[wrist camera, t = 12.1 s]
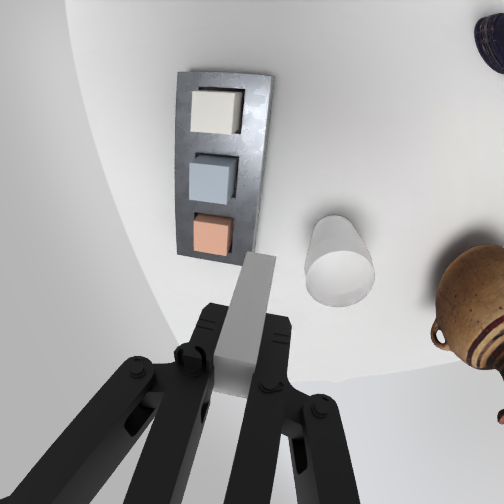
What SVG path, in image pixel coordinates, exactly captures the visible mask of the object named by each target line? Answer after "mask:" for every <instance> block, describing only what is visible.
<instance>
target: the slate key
mask: <svg viewBox="0 0 504 504" xmlns="http://www.w3.org/2000/svg"><path fill="white" fill-rule="evenodd" d="M236 169H237V157H233V156H224V155H214V154H204V153H202V154H201V155H199V156H198V157H197V158H195V159H194V160H193V161H191V162H190V165H189V200H196V201H203V202H211V203H218V204H225V205H227V203H228V201H229V200H230V198H231V196H232V195H233V193H234V191H235V182H236Z"/></svg>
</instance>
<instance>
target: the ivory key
mask: <svg viewBox="0 0 504 504" xmlns="http://www.w3.org/2000/svg"><path fill="white" fill-rule="evenodd" d="M242 99H243V92H235V91H219V90H200V91H192V108H191V130H190V132H204V133H217V134H228V135H232V134H233V133H234V132H236V131H237V130H239V129H240V121H241V110H242Z"/></svg>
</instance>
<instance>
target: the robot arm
mask: <svg viewBox="0 0 504 504" xmlns="http://www.w3.org/2000/svg"><path fill="white" fill-rule="evenodd" d="M275 261H276V256H270V255H265V254H259V253H254V252H248V251H247V253H246V256H245V259H244V263H243V266H242V269H241V272H240V275H239V278H238V281H237V284H236V287H235V290H234V293H233V296H232V299H231V303H230V306H224V305H220V304H215V303H209V304H208V305H207V306H206V307H205V308H204V309H202V312H201V314H200V317H199V320H198V322H197V324H196V327H195V329H194V331H193V334H192V336H191V339H190V341H189V342H188V343H183V344H181V345H180V346H178V347H177V348H176V350H175V351H174V357H175V362H172V363H166V364H152V362H151V361H150V360H149V359H148V358H145V357H142V356H134V357H130V358H128V359H127V360H126V361H124V363H123V364H122V365H121V366H120V367H119V368H118V369H117V370H116V371H115V373H114V374H113V375H112V376H111V377H110V379H108V381H107V382H106V383H105V384H104V385H103V386H102V387H101V388H100V390H99V391H98V392H97V393H96V394H95V396H94V397H93V398H92V399H91V400H90V401H89V402H88V403H87V405H86V406H85V407H84V408H83V409H82V410H81V412H80V413H79V414H78V415H77V416H76V418H75V419H74V420H73V421H72V422H71V423H70V425H69V426H68V427H67V428H66V429H65V430H64V431H63V433H62V434H61V435H60V436H59V437H58V438H57V440H56V441H55V442H54V443H53V444H52V445H51V447H50V448H49V449H48V450H47V451H46V453H45V454H44V455H43V456H42V457H41V459H40V460H39V461H38V462H37V463H36V465H35V466H34V467H33V468H32V469H31V471H30V472H29V473H28V474H27V476H26V477H25V478H24V479H23V481H22V482H21V483H20V484H19V485H18V487H17V488H16V489H15V490H14V492H13V493H12V494H11V495H10V496H8V497H6V498H3V499H1V500H0V504H89V503H90V502H91V501H92V499H93V498H94V497H95V496H96V494H97V493H98V492H99V490H100V489H101V487H102V486H103V485H104V484H105V483H106V481H107V480H108V479H109V477H110V476H111V475H112V473H113V472H114V471H115V469H116V468H117V467H118V465H119V464H120V463H121V461H122V460H123V459H124V457H125V456H126V455H127V453H128V452H129V451H130V449H131V448H132V447H133V445H134V444H135V443H136V441H137V440H138V439H139V437H140V436H141V435H142V433H143V432H144V431H145V429H146V428H147V426H148V425H149V424H150V422H151V421H152V420H153V418H154V417H155V418H154V421H153V424H152V426H151V429H150V431H149V434H148V437H147V439H146V442H145V445H144V447H143V450H142V453H141V455H140V458H139V461H138V463H137V466H136V469H135V472H134V474H133V477H132V480H131V483H130V485H129V488H128V491H127V494H126V496H125V499H124V502H123V504H181V502H182V499H183V496H184V492H185V489H186V485H187V482H188V478H189V475H190V471H191V468H192V464H193V461H194V458H195V454H196V451H197V447H198V444H199V440H200V437H201V434H202V430H203V427H204V423H205V420H206V416H207V413H208V409H209V406H210V397H211V394H212V390H213V391H215V392H219V393H223V394H228V395H233V396H237V397H242V398H247V403H246V408H245V413H244V418H243V422H242V426H241V431H240V435H239V440H238V444H237V449H236V453H235V458H234V461H233V466H232V470H231V474H230V478H229V483H228V487H227V491H226V495H225V500H224V503H223V504H270V499H271V493H272V487H273V482H274V476H275V469H276V464H277V457H278V451H279V444H280V436H281V434H283V435H286V436H288V439H289V446H290V453H291V460H292V467H293V474H294V480H295V488H296V494H297V502H298V504H360V500H359V495H358V490H357V486H356V481H355V476H354V472H353V467H352V463H351V459H350V454H349V450H348V446H347V441H346V437H345V433H344V429H343V425H342V421H341V417H340V414H339V409H338V406H337V404H336V402H335V401H334V400H333V399H332V398H331V397H329V396H327V395H325V394H315V395H311V396H308V395H306V394H304V393H302V392H300V391H298V390H296V389H295V388H294V387H292V385H291V384H290V382H289V381H288V378H287V367H288V358H289V349H290V339H291V329H292V326H291V323H290V321H289V318H288V317H285V316H280V315H274V314H269V313H266V311H267V305H268V300H269V294H270V289H271V283H272V278H273V272H274V267H275Z"/></svg>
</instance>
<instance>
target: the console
mask: <svg viewBox="0 0 504 504" xmlns="http://www.w3.org/2000/svg"><path fill="white" fill-rule="evenodd" d="M273 85H274V77H273V76H266V75H256V74H243V73H225V72H178V76H177V93H176V117H175V218H176V242H177V254H178V255H183V256H189V257H194V258H200V259H205V260H211V261H217V262H223V263H228V264H234V265H240V266H243V263H244V259H245V256H246V253H247V251H248V252H254V251H255V243H256V234H257V225H258V217H259V208H260V199H261V191H262V182H263V173H264V165H265V156H266V147H267V138H268V129H269V121H270V112H271V103H272V94H273ZM208 87H225V88H240V89H245V97H244V108H243V119H242V129H239V130H237V131H236V132H234V133H233V134H232V135H228V134H217V133H204V132H190V130H191V108H192V91H200V90H208ZM202 153H211V154H221V155H230V156H239V165H238V178H237V188H235V191H234V193H233V195H232V196H231V198H230V200H229V201H228V203H227V205H225V204H218V203H211V202H203V201H196V200H189V165H190V162H191V161H193V160H194V159H195V158H197V157H198V156H199V155H201V154H202ZM199 213H204V214H211V215H218V216H225V217H232V218H234V231H233V242H232V244H231V246H230V249H229V251H228V253H227V256H223V255H217V254H211V253H205V252H199V251H194V220H195V218H196V217H197V215H198V214H199Z"/></svg>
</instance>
